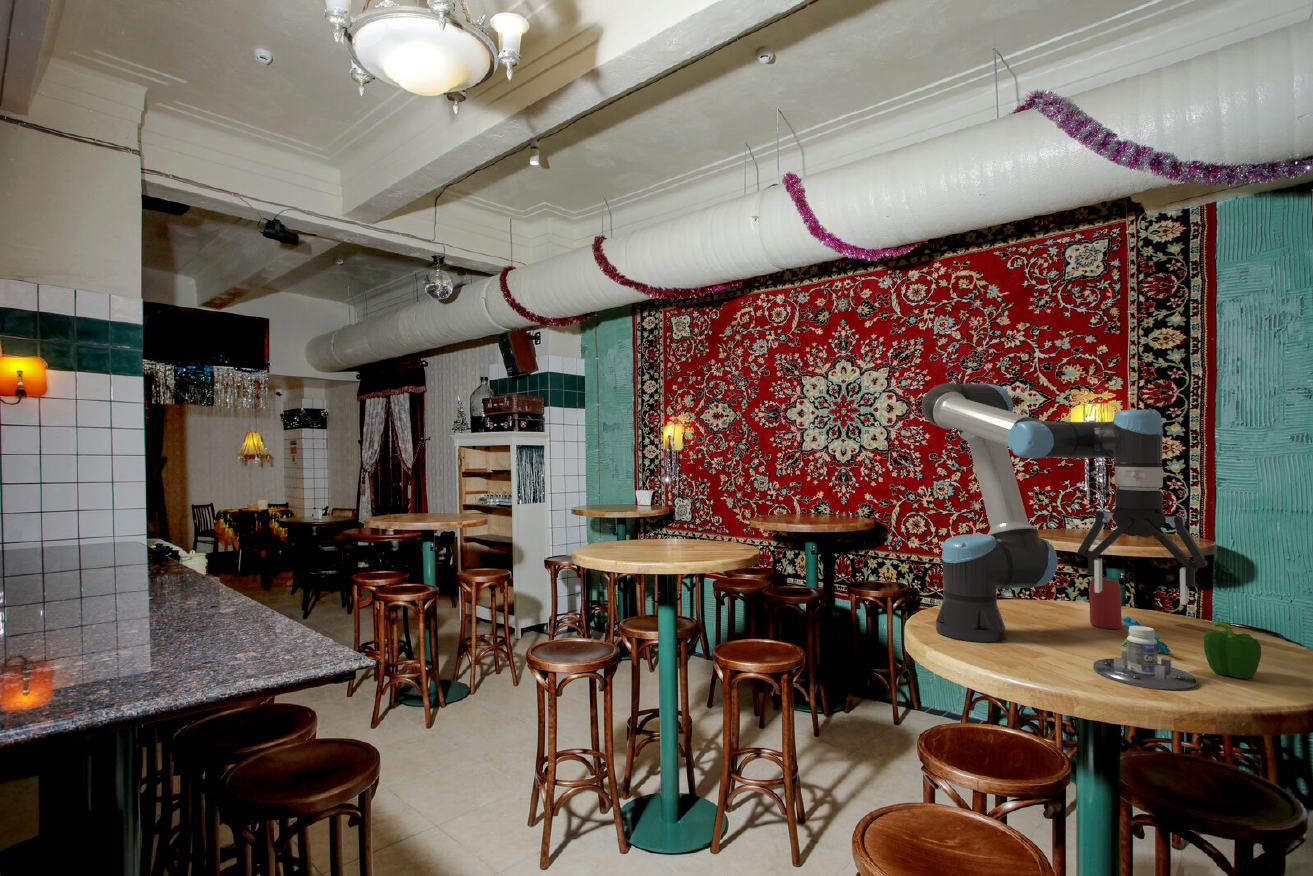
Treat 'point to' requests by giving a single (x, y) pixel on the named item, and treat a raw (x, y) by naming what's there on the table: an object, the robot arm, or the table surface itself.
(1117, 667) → the hub
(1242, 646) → the bell pepper
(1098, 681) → the table surface
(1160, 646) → the gear
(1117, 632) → the table surface
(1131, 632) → the pill bottle
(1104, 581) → the beer can
